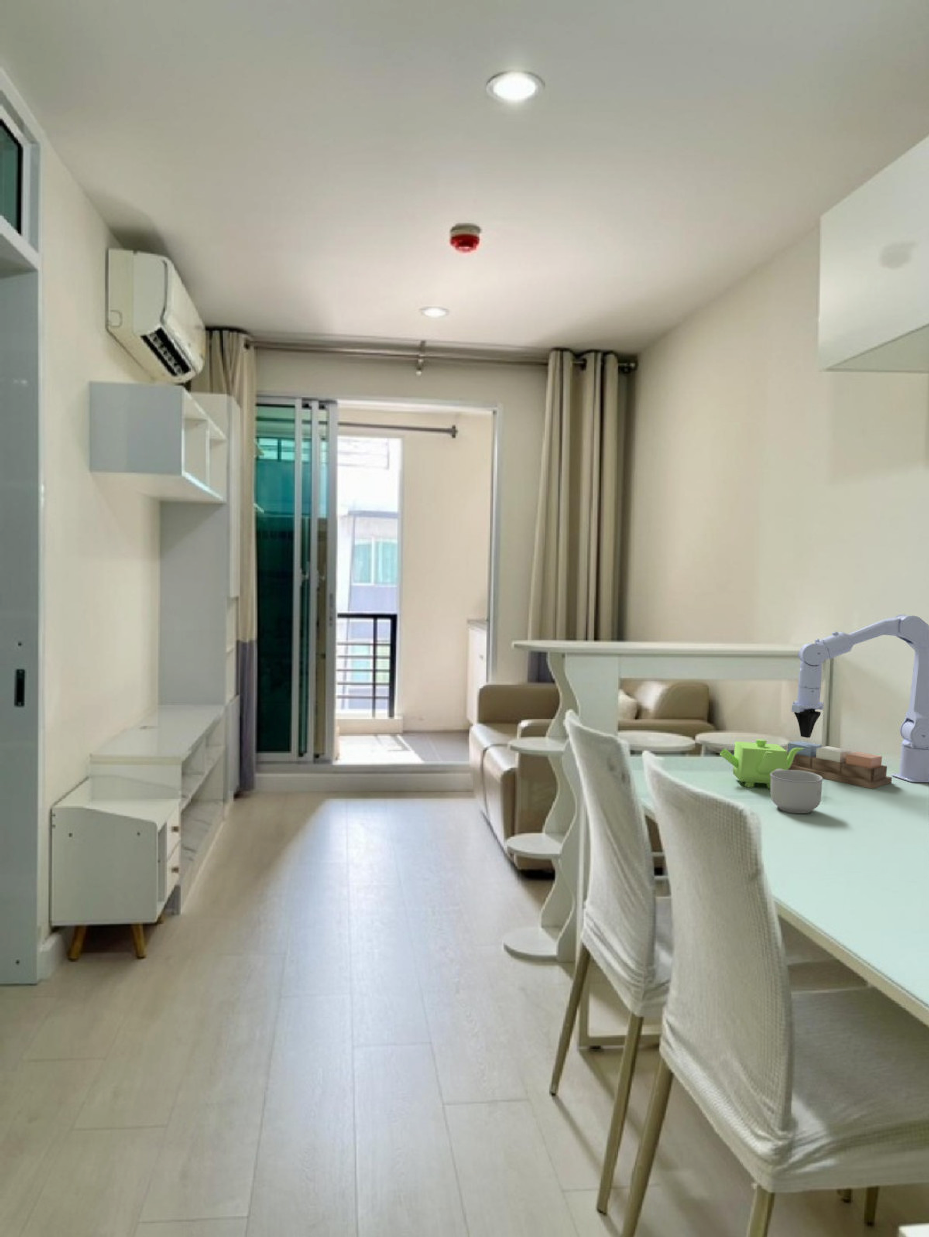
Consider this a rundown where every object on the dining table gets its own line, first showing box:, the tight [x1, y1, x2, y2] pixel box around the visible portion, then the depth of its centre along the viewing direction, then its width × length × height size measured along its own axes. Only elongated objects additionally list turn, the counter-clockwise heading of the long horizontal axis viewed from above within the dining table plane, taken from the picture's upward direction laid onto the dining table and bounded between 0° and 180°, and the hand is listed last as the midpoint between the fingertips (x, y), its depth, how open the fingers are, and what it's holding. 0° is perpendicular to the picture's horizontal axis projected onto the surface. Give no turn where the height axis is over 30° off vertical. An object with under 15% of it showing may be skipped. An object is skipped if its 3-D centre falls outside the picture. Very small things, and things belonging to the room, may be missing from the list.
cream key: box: [816, 745, 852, 763], centre depth 233 cm, size 6×6×3 cm
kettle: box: [719, 738, 804, 790], centre depth 217 cm, size 15×14×11 cm
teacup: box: [770, 769, 824, 814], centre depth 195 cm, size 14×11×8 cm
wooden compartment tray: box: [786, 750, 893, 789], centre depth 233 cm, size 26×12×4 cm, turn 43°
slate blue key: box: [787, 740, 823, 757], centre depth 239 cm, size 6×6×3 cm
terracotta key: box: [846, 751, 883, 769], centre depth 227 cm, size 6×6×3 cm
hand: (805, 737), depth 239 cm, fingers closed
